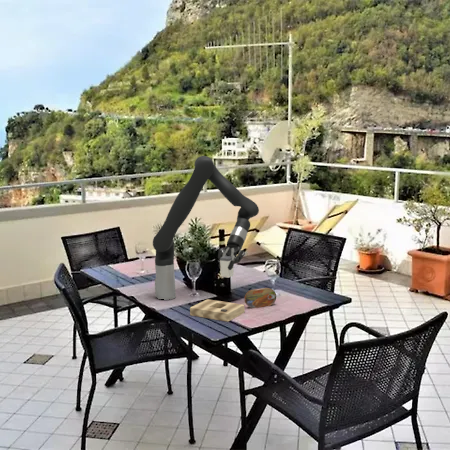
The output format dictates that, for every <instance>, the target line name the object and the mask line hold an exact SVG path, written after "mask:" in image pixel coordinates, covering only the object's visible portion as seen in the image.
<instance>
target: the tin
mask: <svg viewBox="0 0 450 450" xmlns="http://www.w3.org/2000/svg"><path fill="white" fill-rule="evenodd" d="M276 293H277V292H275V290H274V289H272V288H269V287H265V288H264V287H262V288H255V289H250V290H248V291H247V292H246V293H245V295H244V298H243V299H244V303H245V304H246V305H247V307H248V308H250V309H259V308H265V307H270V306H272V305H274V304H275V302H276V299H277V294H276Z"/></svg>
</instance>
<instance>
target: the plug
mask: <svg viewBox="0 0 450 450" xmlns="http://www.w3.org/2000/svg"><path fill="white" fill-rule="evenodd" d="M231 258H232V257H230V256H227V255H226V256H224V257H221V258H220V260H219V263H220V268H219V269H220V272H219V273H220V277H222V278H231V277H234V275H235V274H234V267H233V268H232V269H231V270H229V269H228V266H229V263H230V261H231Z"/></svg>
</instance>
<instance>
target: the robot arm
mask: <svg viewBox="0 0 450 450" xmlns="http://www.w3.org/2000/svg"><path fill="white" fill-rule="evenodd" d="M214 163H215V162H214V161H213V159H212V158H211V157H209V156H206V155H200V156H199V157H197V158H196V159H195V161H194V169H193V171H192V173H191V175H190V178H189V180H188V181H187V183H185V185H184V186H183V188H182V189H181V190H180V191H179V193H178V194H177V196H176V197H175V199H174V201H173V202H172V205H171V207H170V209H169V212H167V215H166V218H165V221H164V222H163V224H162V226H161V227H160V229H159V230H158V231H157V233H156V234H155V235H154V237H153V239H152V246H153V249H154V250H155V258H154V264H155V265H154V267H155V279H154V294H155V298H156V297H157V298H158V299H157V298H156V299H157V300H159V299H164V300H163V301H169V299H170V300H174V299H175V298H176V296H177V295H176V294H177V293H176V278H175V276H176V275H175V240H174V238H175V236H176V233H177V232H178V230H179V228H180V227H181V226H182V225H183V223H185V220H186V219H187V218H188V216H189V215H190V213H191V211H192V210H193V208H194V206H195V204H196V202H197V200H198V198H199V196H200V194H201V192H202V190H203V188H204V187H205V185H206V183H207V182H208V181H210V182H211V183H212V184H213V185H214V186H215V187H216V189H217V190H218V191H219V192H220V193H221V195H223V197H224V198H225V199H226V200H227V201H228V202H229V203H230V204H231V205H232V206H234V207H240V208H239V209H238V212H237V217H236V222H235V225H234V227H233V228H232V230H231V233H230V235H229V237H228V239H227V242H226V246H225V247H223V248H221V247H219V248H218V254H217V259H218V260H219V261H220V258H221V257H224V256H230V257H232V258H231V261H230V263H229V266H228V269H229V270H231V269H232V268H233V269H234V265H235V264H239V263H240V262H241V260H242V259H243V257H244V256H246V253H245V251H244V250H243V247H244V244H245V241H246V238H247V236H248V233H249V230H250V228H251V222H250V219H252V218H254V217H257V216H258V214H259V212H260V209H259V206H258V204H257V203H256V201H253V200H252V199H250V198H249V197H247V196H245V195H244V194H242V192H241V191H240V190H239V189H237V187H236V186H235V185H233V183H232V182H230V180H229V179H227V178H226V177H225V176H224V175H223V174H222V173H221V172H220V170H219V169H218V168H217V166H216V165H215V164H214ZM218 269H220V262H219V263H218Z"/></svg>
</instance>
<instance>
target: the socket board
mask: <svg viewBox="0 0 450 450" xmlns="http://www.w3.org/2000/svg"><path fill="white" fill-rule="evenodd" d="M245 310H246V309H245V304H240V303H233V302H228V301H221V300H216V299H215V300H213V299H205V300H203V301H200V302H199V303H196V304H195V305H192V306H191V307H190V308H189V313H190V315H189V316H193V317H200V318H206V319H211V320H216V321H222V322H230V321H232V320H233V319H235V318H237V317H239V316H241V315H243V314H244V313H245V312H246V311H245Z"/></svg>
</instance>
